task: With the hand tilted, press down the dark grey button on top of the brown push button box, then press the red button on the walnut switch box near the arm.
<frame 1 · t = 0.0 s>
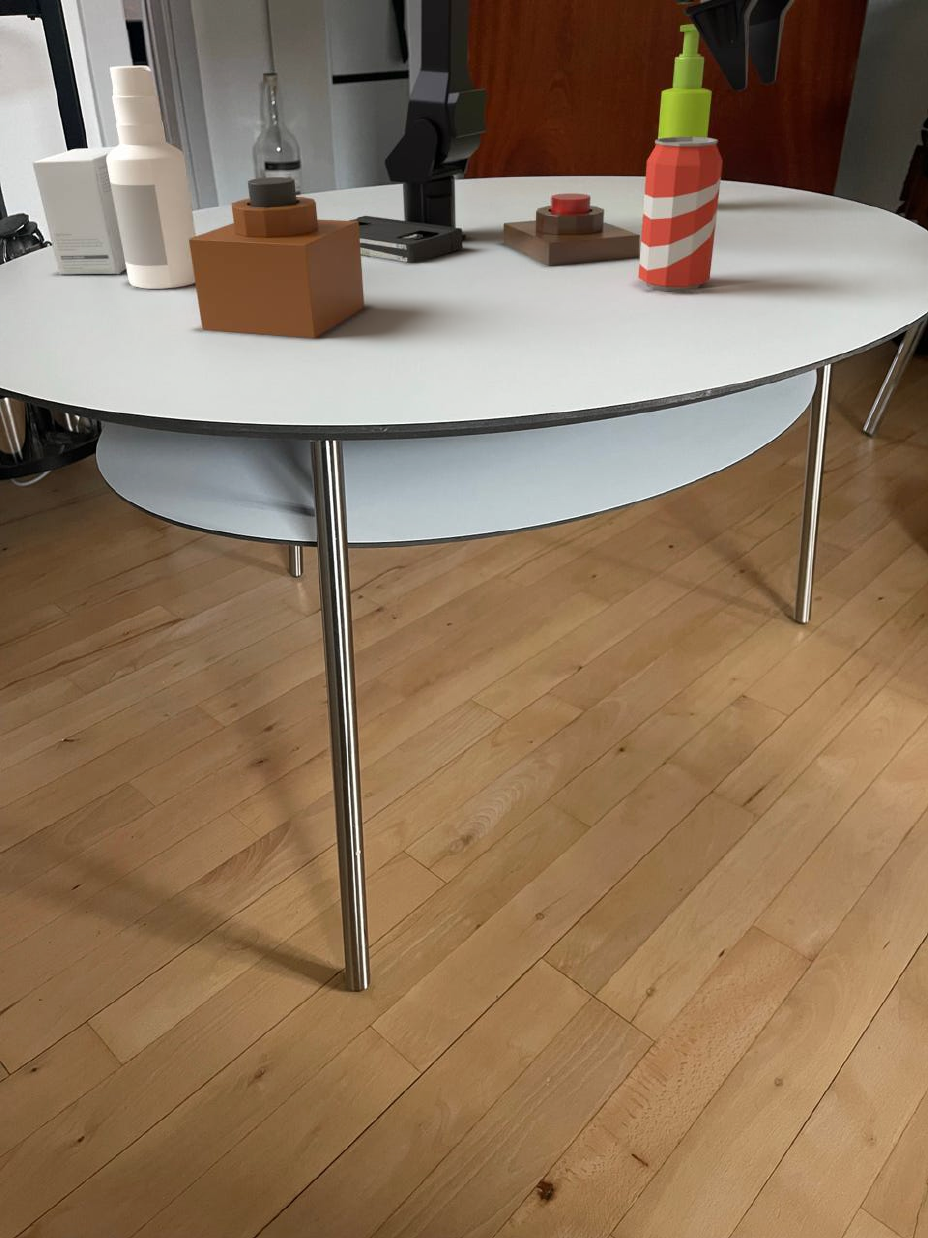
hand: (755, 86, 88), 15 cm above the table, tool pointing down, fingers open, 9 cm apart
dark grey button: (272, 194, 77), point 10 cm above the table, slide at 0.1 cm
beverage can: (673, 287, 90), on the table
cosmetics box: (106, 265, 102), on the table
vhs tape: (388, 250, 106), on the table, touching arm
spray bottle: (166, 283, 95), on the table
red button: (570, 205, 102), point 4 cm above the table, slide at 0.1 cm
soap dispenser: (680, 209, 125), on the table
brown push button box: (286, 318, 82), on the table
switch box: (568, 250, 104), on the table
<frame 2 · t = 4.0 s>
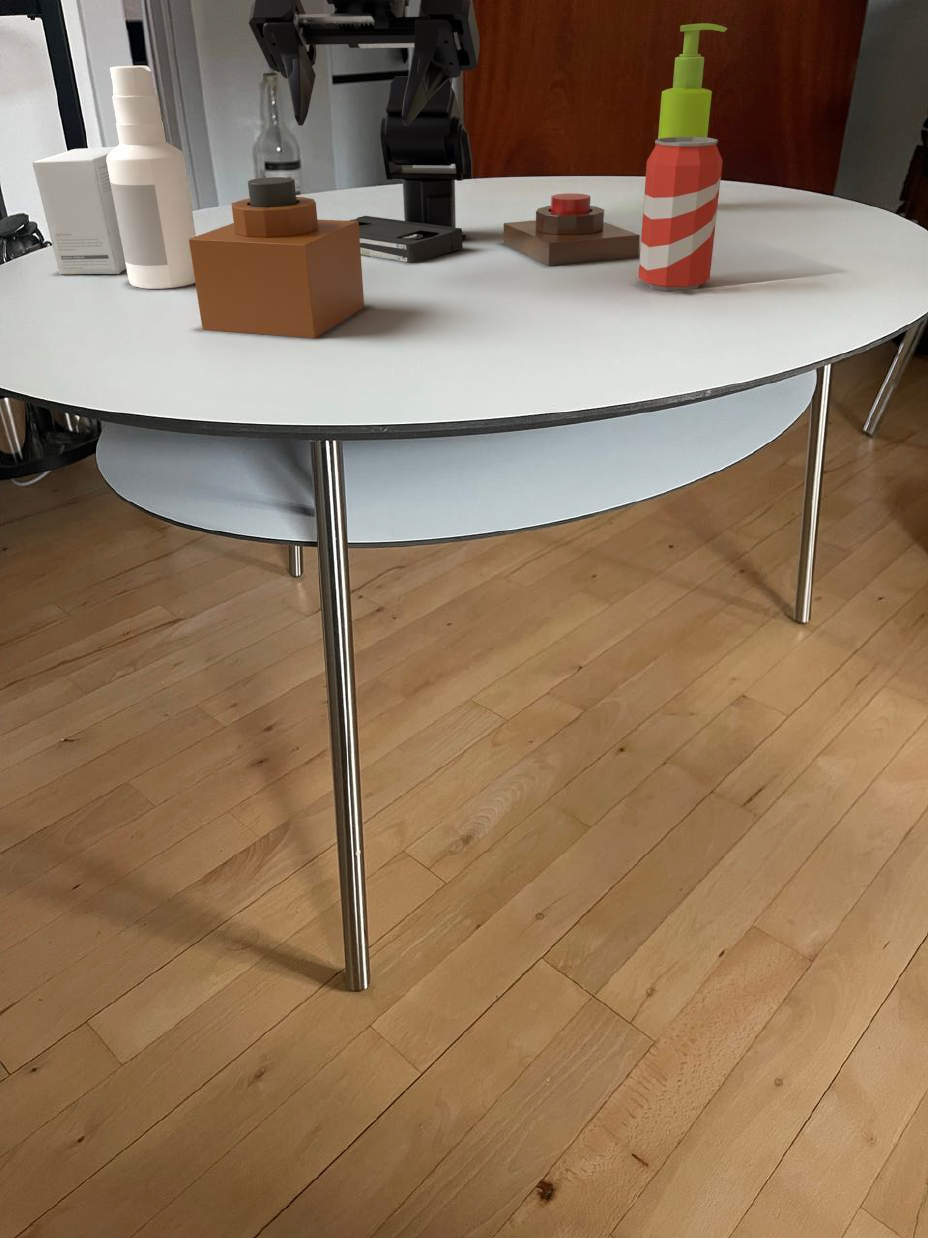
hand: (351, 122, 82), 14 cm above the table, tool tilted 40°, fingers open, 9 cm apart
nothing on the table moved.
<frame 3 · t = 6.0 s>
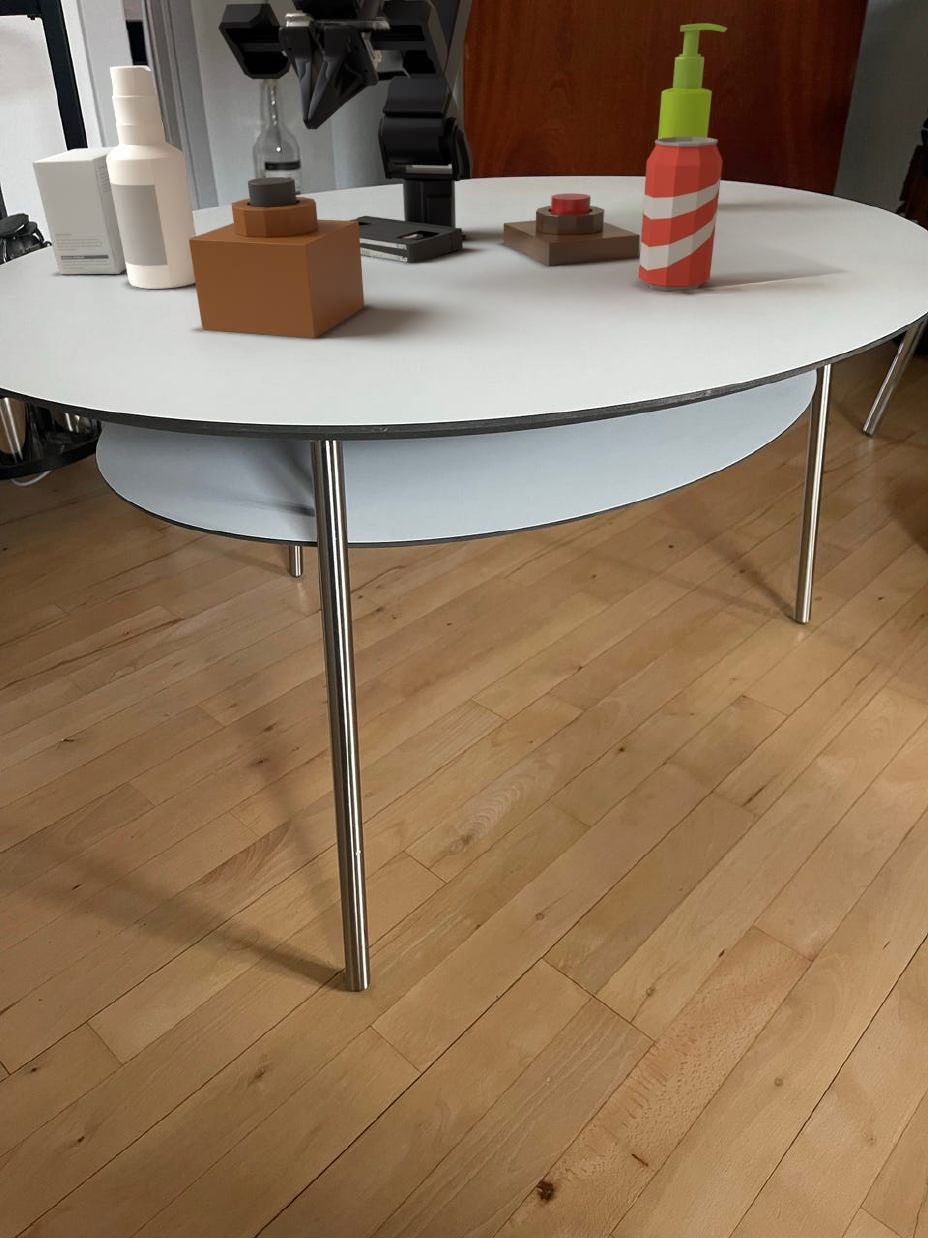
hand: (309, 125, 81), 14 cm above the table, tool tilted 45°, fingers closed
nothing on the table moved.
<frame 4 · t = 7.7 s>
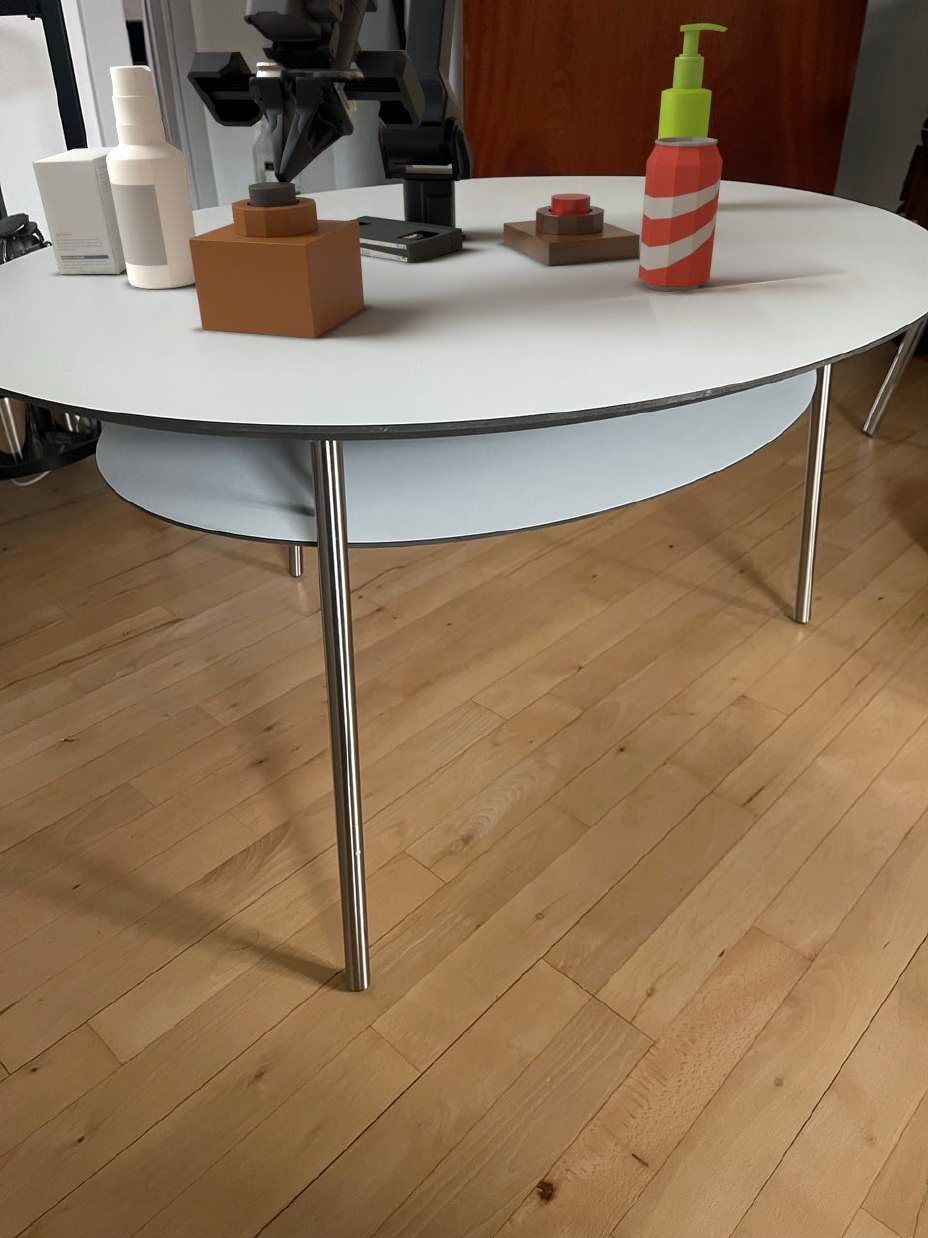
hand: (281, 179, 78), 10 cm above the table, tool tilted 45°, fingers closed, pressing on dark grey button
dark grey button: (273, 198, 78), point 9 cm above the table, slide at -0.3 cm, touching gripper
everything else where it was.
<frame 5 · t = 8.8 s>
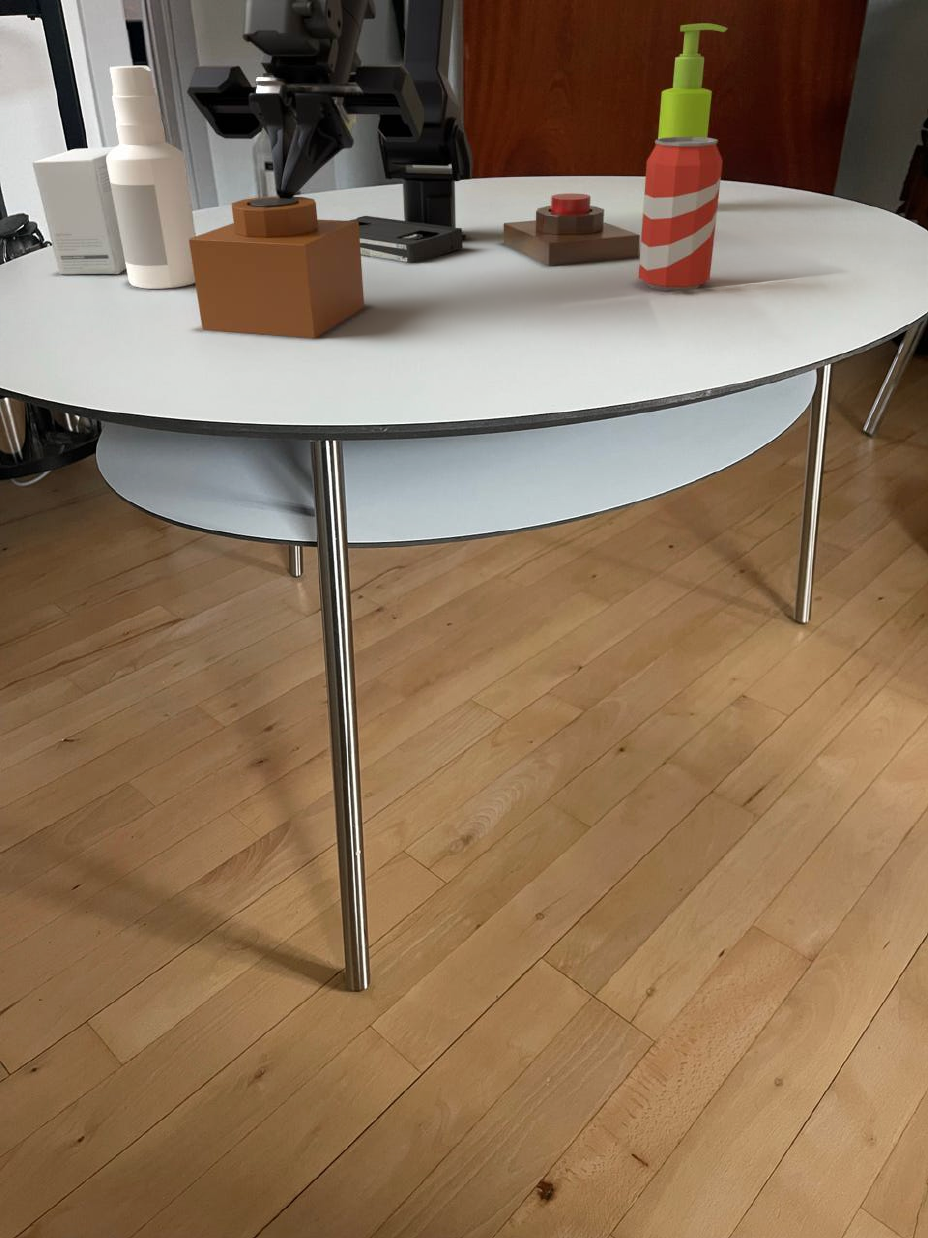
hand: (282, 196, 79), 9 cm above the table, tool tilted 40°, fingers closed, pressing on dark grey button, brown push button box
dark grey button: (274, 214, 78), point 8 cm above the table, slide at -1.4 cm, touching gripper
everything else where it was.
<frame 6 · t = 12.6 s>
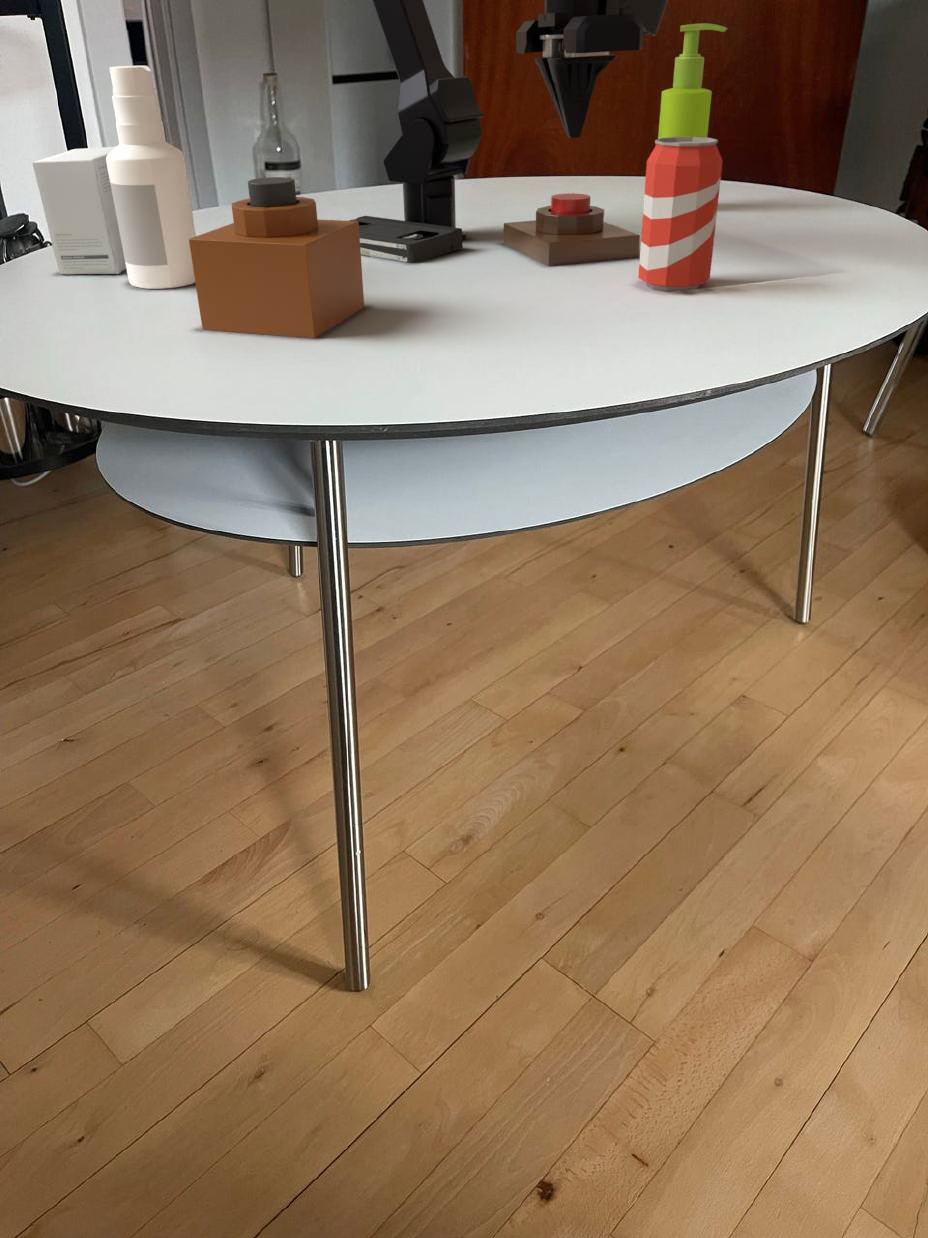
hand: (574, 137, 97), 11 cm above the table, tool pointing down, fingers closed
dark grey button: (272, 194, 77), point 10 cm above the table, slide at 0.1 cm
everything else where it was.
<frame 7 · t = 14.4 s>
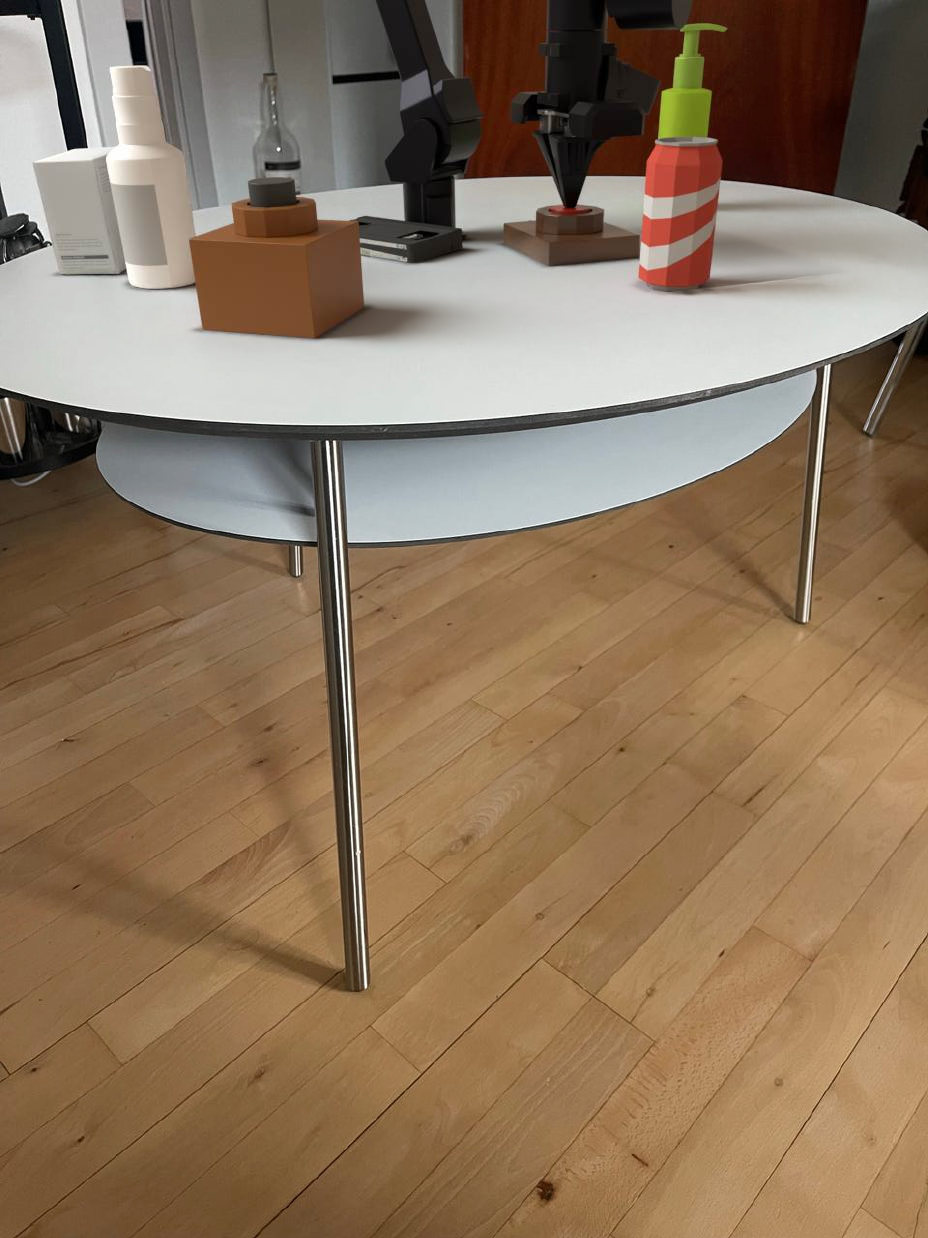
hand: (569, 207, 102), 4 cm above the table, tool pointing down, fingers closed, pressing on red button
red button: (570, 216, 102), point 3 cm above the table, slide at -1.0 cm, touching gripper
everything else where it was.
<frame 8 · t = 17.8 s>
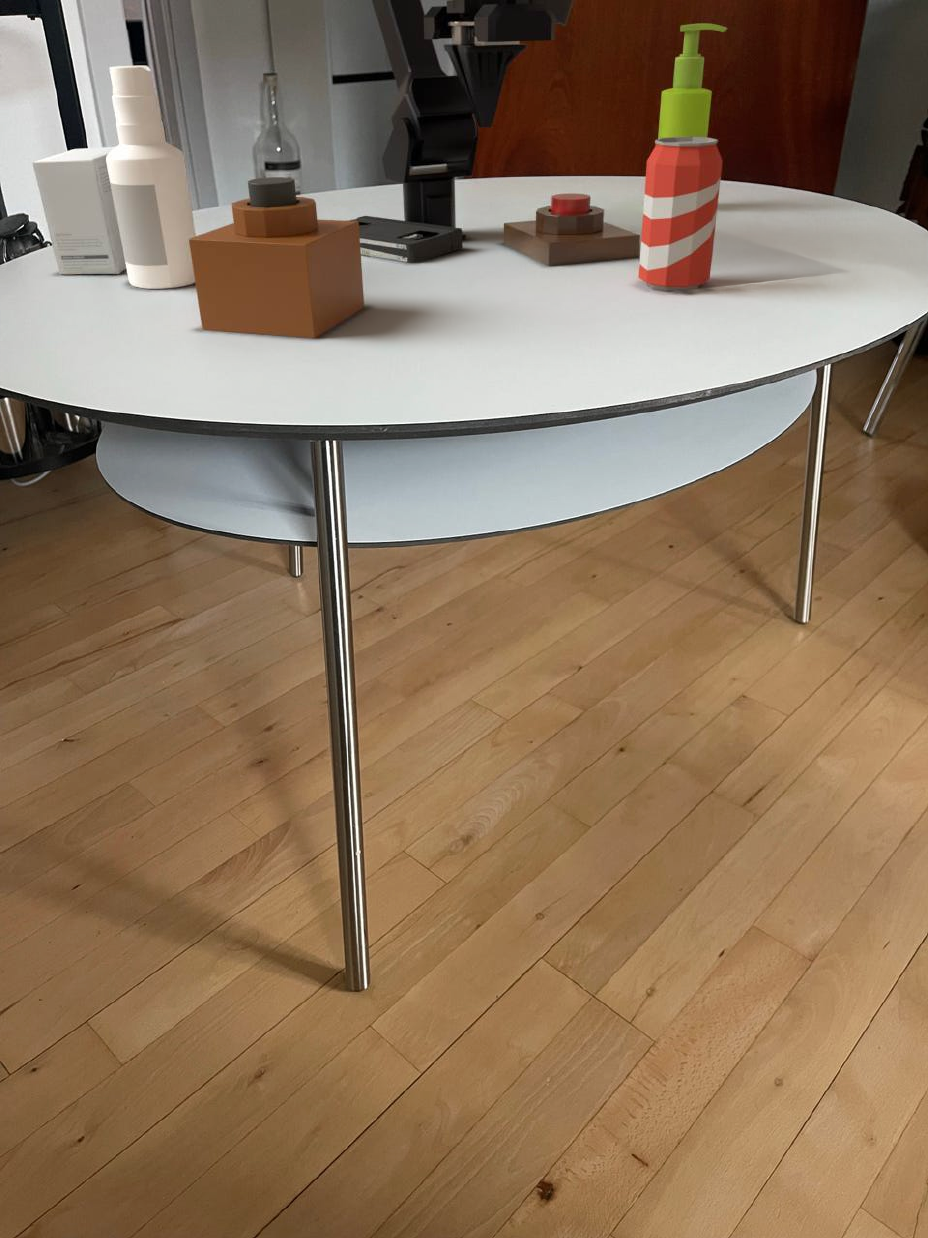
hand: (485, 127, 96), 12 cm above the table, tool pointing down, fingers closed
red button: (570, 205, 102), point 4 cm above the table, slide at 0.1 cm
everything else where it was.
at the end: dark grey button pushed in 1.4 cm at the most during the clip, back to where it started at the end; dark grey button slide at 0.1 cm; red button pushed in 1.1 cm at the most during the clip, back to where it started at the end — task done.
